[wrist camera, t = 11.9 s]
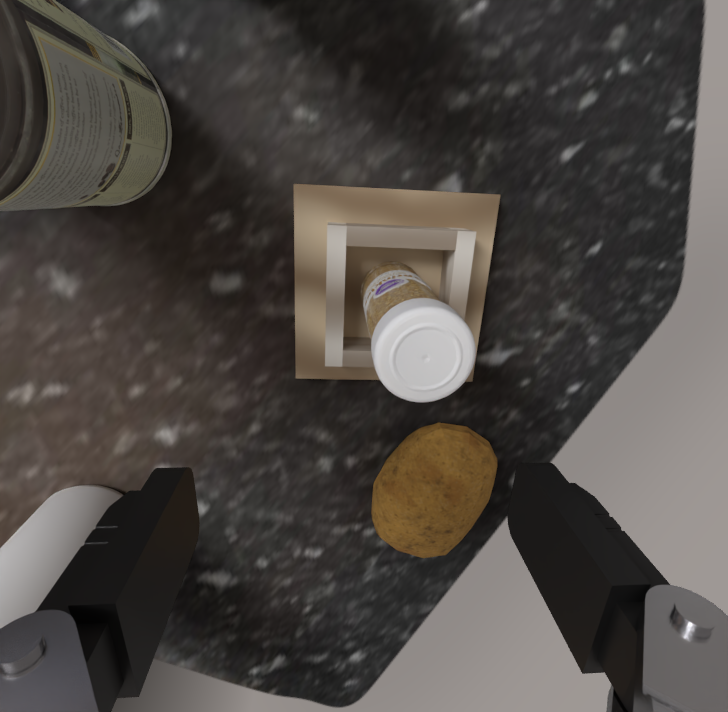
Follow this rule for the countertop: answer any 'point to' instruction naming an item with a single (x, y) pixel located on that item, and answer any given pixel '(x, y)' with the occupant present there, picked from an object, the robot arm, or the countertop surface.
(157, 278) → the countertop surface
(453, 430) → the potato
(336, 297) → the spice stand
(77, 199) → the coffee can
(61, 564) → the alcohol
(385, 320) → the sprinkles bottle
